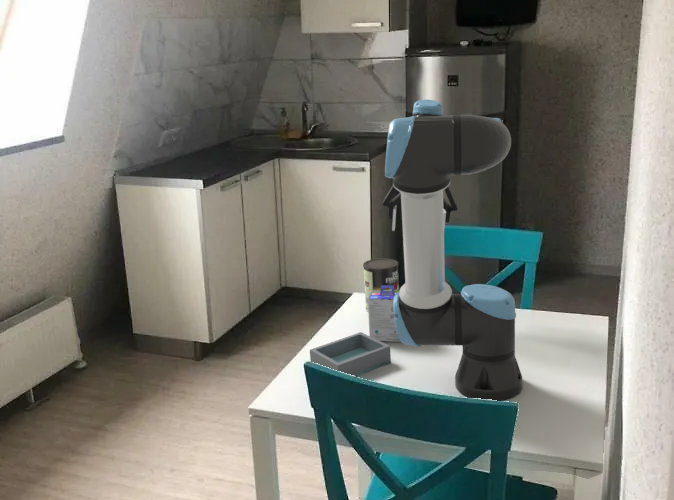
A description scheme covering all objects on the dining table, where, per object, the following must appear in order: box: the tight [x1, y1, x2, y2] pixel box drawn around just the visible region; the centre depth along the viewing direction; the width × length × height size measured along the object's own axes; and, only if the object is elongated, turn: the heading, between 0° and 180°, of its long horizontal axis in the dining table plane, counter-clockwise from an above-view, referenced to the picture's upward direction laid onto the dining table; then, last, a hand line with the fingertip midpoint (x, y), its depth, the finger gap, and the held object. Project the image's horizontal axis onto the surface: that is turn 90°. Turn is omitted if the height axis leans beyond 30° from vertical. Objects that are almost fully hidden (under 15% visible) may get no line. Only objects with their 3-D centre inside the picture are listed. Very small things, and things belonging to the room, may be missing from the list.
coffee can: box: [362, 257, 400, 313], centre depth 218 cm, size 10×10×14 cm
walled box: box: [309, 331, 392, 377], centre depth 184 cm, size 12×16×4 cm
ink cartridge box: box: [367, 285, 402, 343], centre depth 197 cm, size 10×6×14 cm, turn 78°
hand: (417, 230), depth 206 cm, fingers open, 13 cm apart
